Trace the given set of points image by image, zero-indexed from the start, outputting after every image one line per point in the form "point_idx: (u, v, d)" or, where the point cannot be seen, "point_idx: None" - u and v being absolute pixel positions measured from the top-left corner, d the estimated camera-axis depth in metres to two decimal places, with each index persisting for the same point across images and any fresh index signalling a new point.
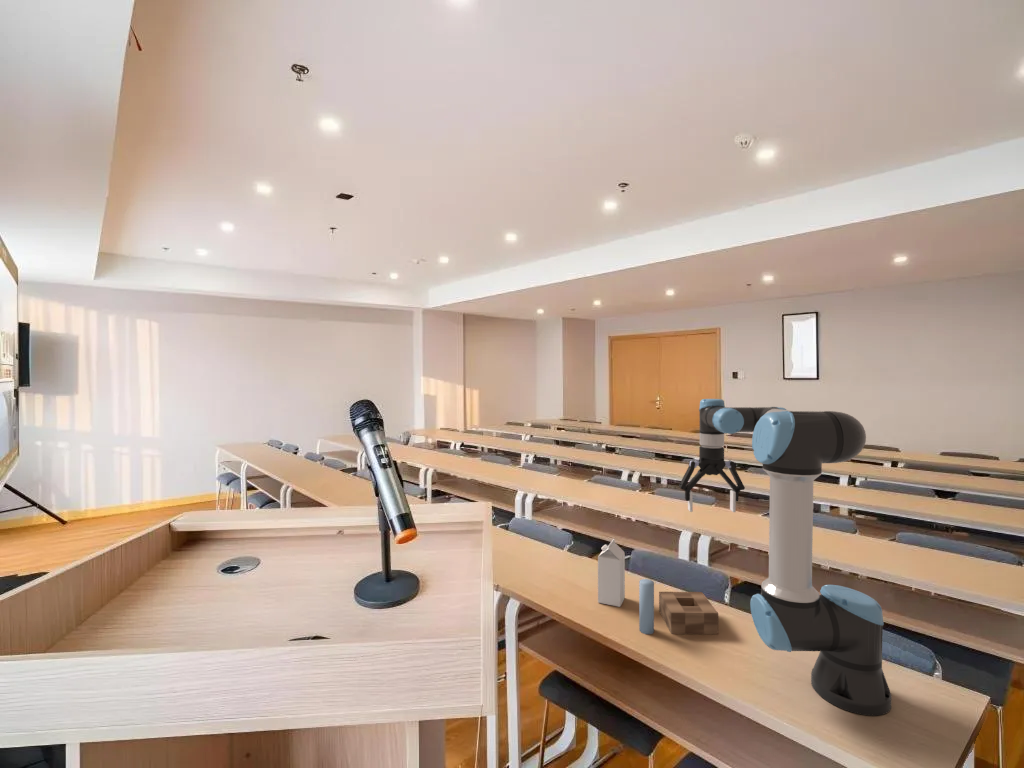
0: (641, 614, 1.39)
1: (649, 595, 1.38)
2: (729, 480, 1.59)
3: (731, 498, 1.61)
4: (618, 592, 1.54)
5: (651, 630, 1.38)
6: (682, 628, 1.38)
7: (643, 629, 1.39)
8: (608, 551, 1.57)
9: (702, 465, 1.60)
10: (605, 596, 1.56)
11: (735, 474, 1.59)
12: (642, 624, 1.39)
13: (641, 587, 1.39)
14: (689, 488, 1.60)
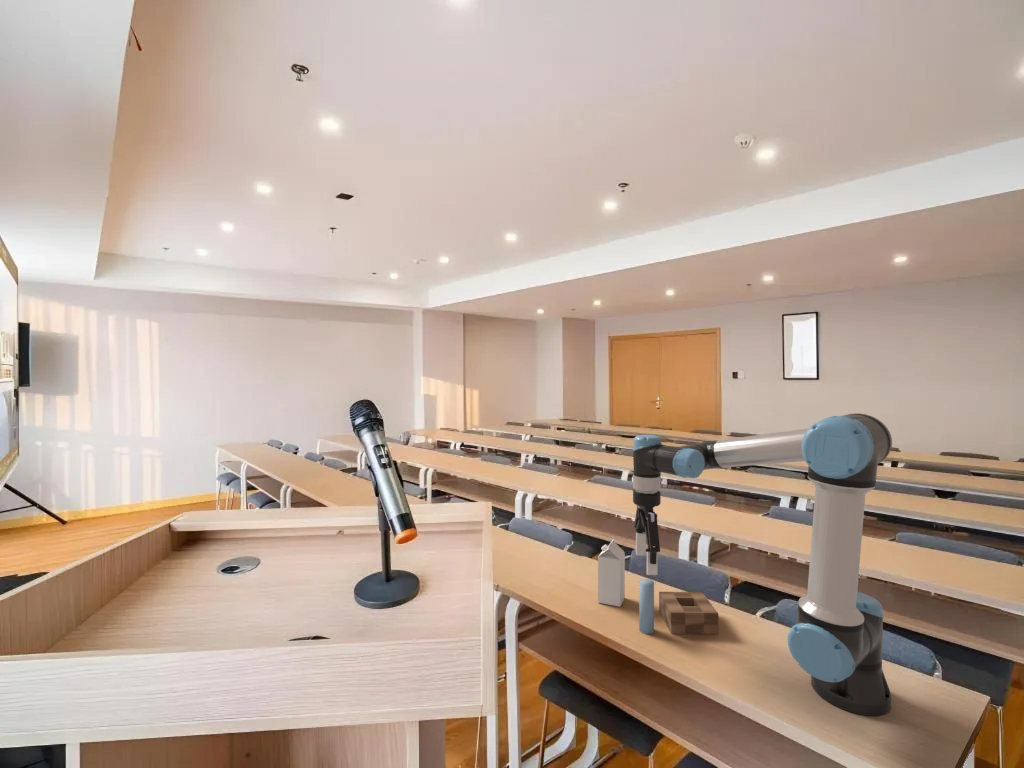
0: (641, 614, 1.39)
1: (649, 595, 1.38)
2: (646, 534, 1.34)
3: None
4: (618, 592, 1.54)
5: (651, 630, 1.38)
6: (682, 628, 1.38)
7: (643, 629, 1.39)
8: (608, 551, 1.57)
9: (640, 508, 1.43)
10: (605, 596, 1.56)
11: (648, 529, 1.32)
12: (642, 624, 1.39)
13: (641, 587, 1.39)
14: (636, 529, 1.47)
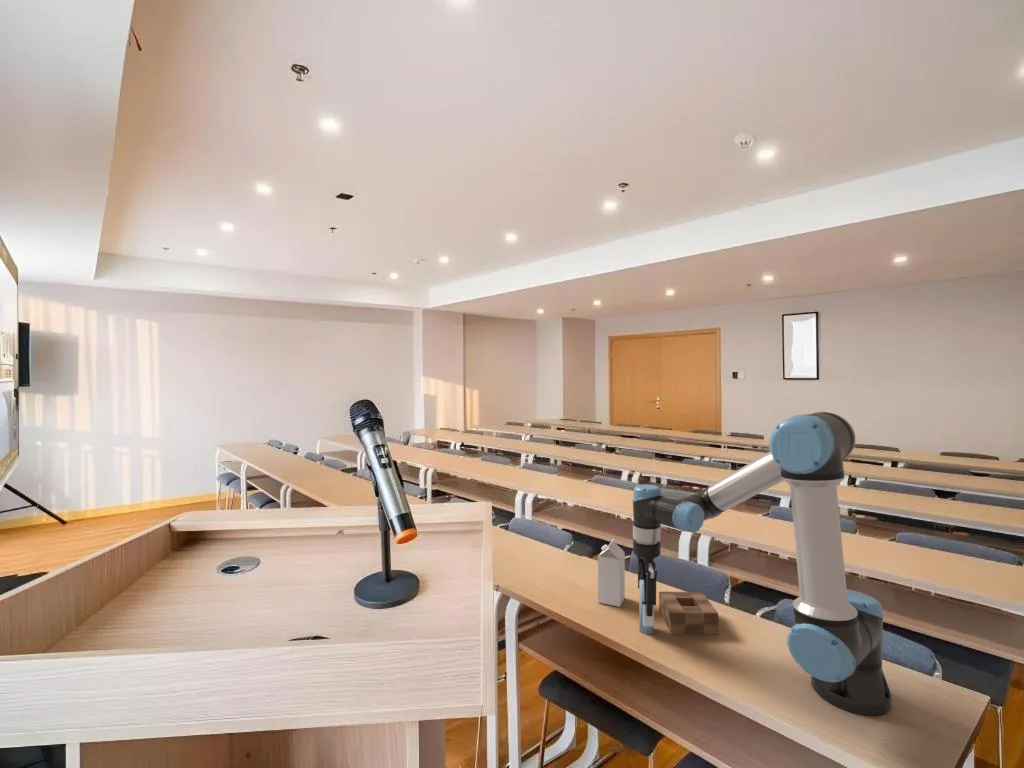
0: (641, 614, 1.39)
1: None
2: (644, 587, 1.37)
3: None
4: (618, 592, 1.54)
5: (651, 630, 1.38)
6: (682, 628, 1.38)
7: (643, 629, 1.39)
8: (608, 551, 1.57)
9: (640, 557, 1.43)
10: (605, 596, 1.56)
11: (646, 584, 1.35)
12: (642, 624, 1.39)
13: (641, 587, 1.39)
14: None
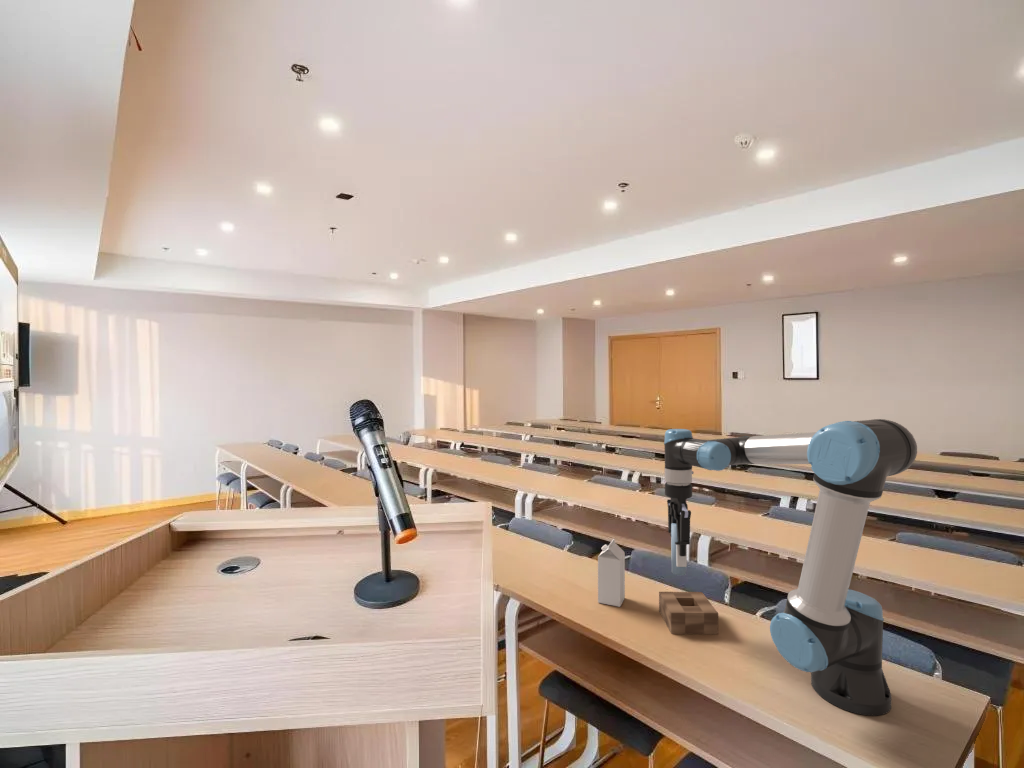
0: (674, 556, 1.42)
1: None
2: (677, 527, 1.40)
3: None
4: (618, 592, 1.54)
5: (684, 571, 1.41)
6: (682, 628, 1.38)
7: (676, 571, 1.41)
8: (608, 551, 1.57)
9: (671, 501, 1.45)
10: (605, 596, 1.56)
11: (680, 524, 1.37)
12: (674, 566, 1.41)
13: (673, 529, 1.41)
14: None
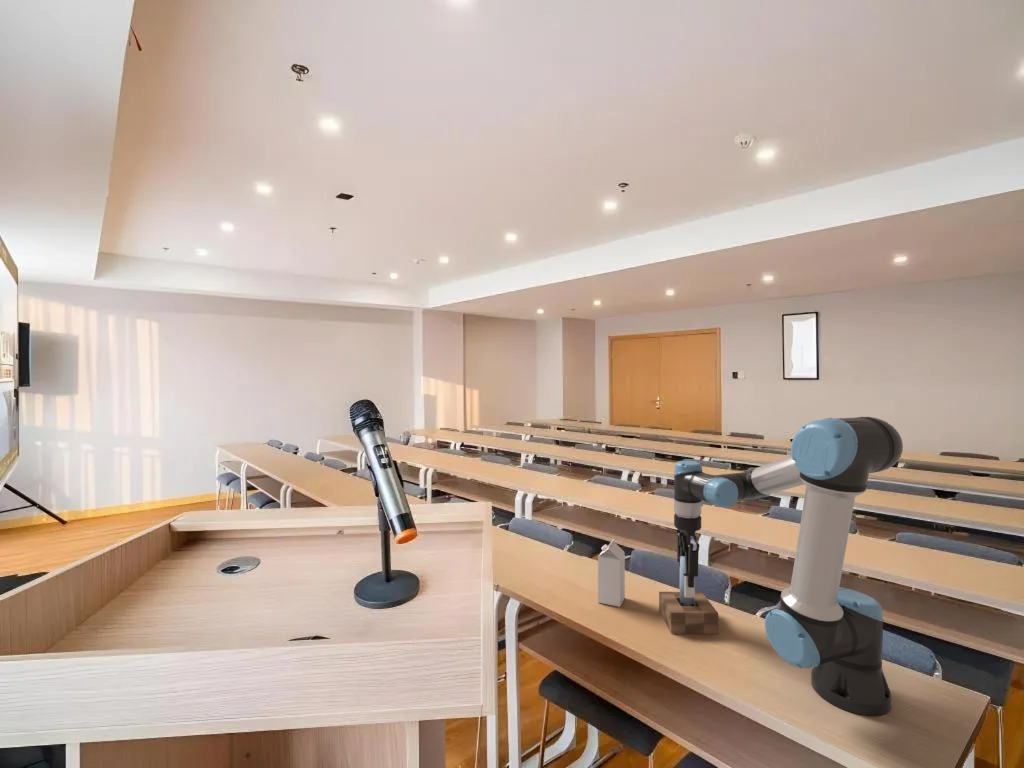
0: (682, 589, 1.44)
1: None
2: (686, 559, 1.42)
3: None
4: (618, 592, 1.54)
5: (692, 604, 1.43)
6: (682, 628, 1.38)
7: (684, 603, 1.43)
8: (608, 551, 1.57)
9: (680, 531, 1.47)
10: (605, 596, 1.56)
11: (688, 556, 1.39)
12: (682, 598, 1.43)
13: (682, 563, 1.43)
14: (679, 563, 1.48)
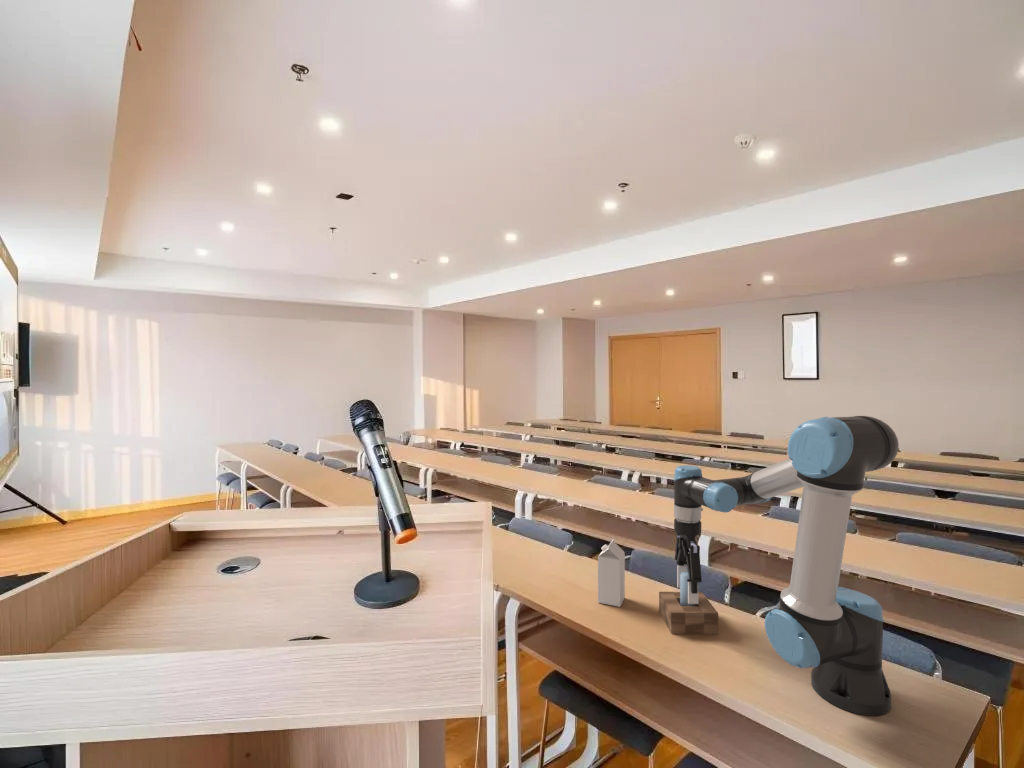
0: None
1: None
2: (688, 564, 1.40)
3: None
4: (618, 592, 1.54)
5: None
6: (682, 628, 1.38)
7: None
8: (608, 551, 1.57)
9: (680, 536, 1.47)
10: (605, 596, 1.56)
11: (690, 560, 1.38)
12: None
13: (682, 579, 1.43)
14: (677, 561, 1.50)
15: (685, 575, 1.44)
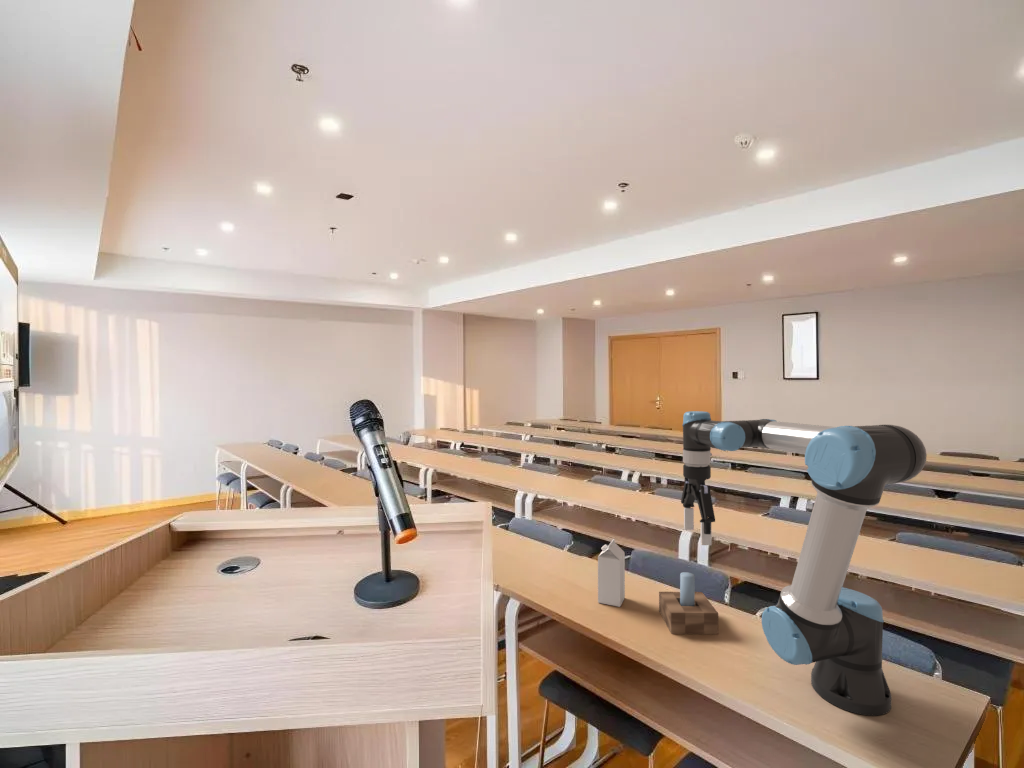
0: None
1: (690, 587, 1.42)
2: (699, 506, 1.39)
3: None
4: (618, 592, 1.54)
5: None
6: (682, 628, 1.38)
7: None
8: (608, 551, 1.57)
9: (689, 482, 1.47)
10: (605, 596, 1.56)
11: (702, 501, 1.37)
12: None
13: (682, 580, 1.43)
14: (684, 504, 1.51)
15: (685, 575, 1.44)
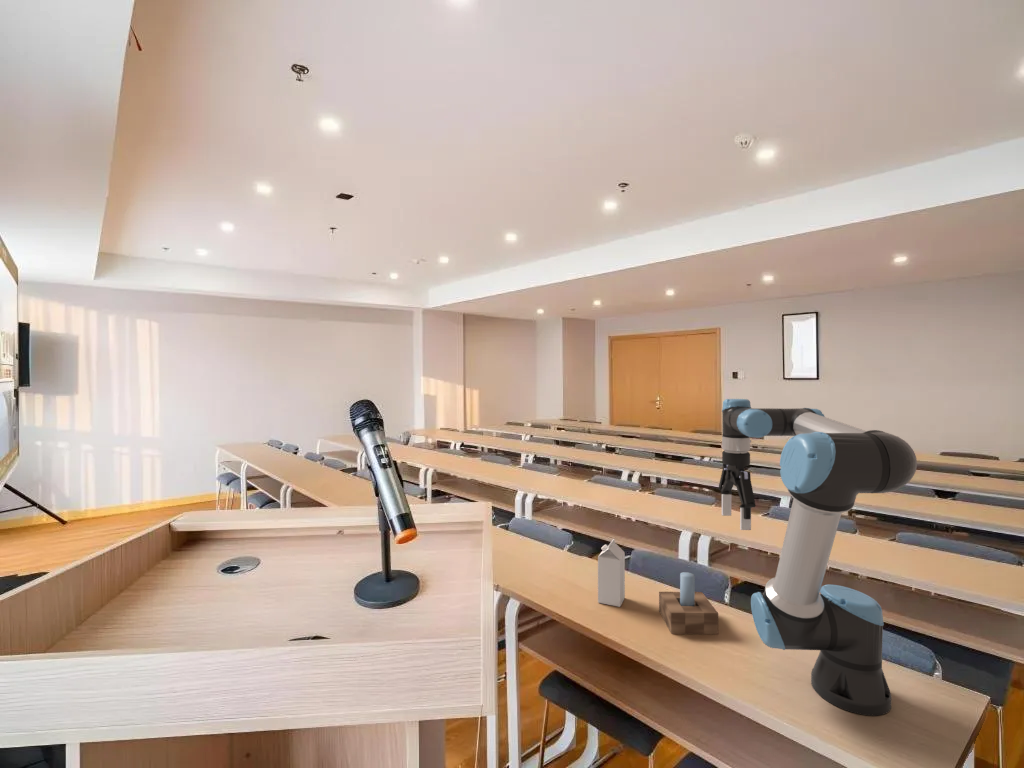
0: None
1: (690, 587, 1.42)
2: (739, 492, 1.41)
3: None
4: (618, 592, 1.54)
5: None
6: (682, 628, 1.38)
7: None
8: (608, 551, 1.57)
9: (727, 469, 1.49)
10: (605, 596, 1.56)
11: (742, 487, 1.39)
12: None
13: (682, 580, 1.43)
14: (721, 490, 1.53)
15: (685, 575, 1.44)
